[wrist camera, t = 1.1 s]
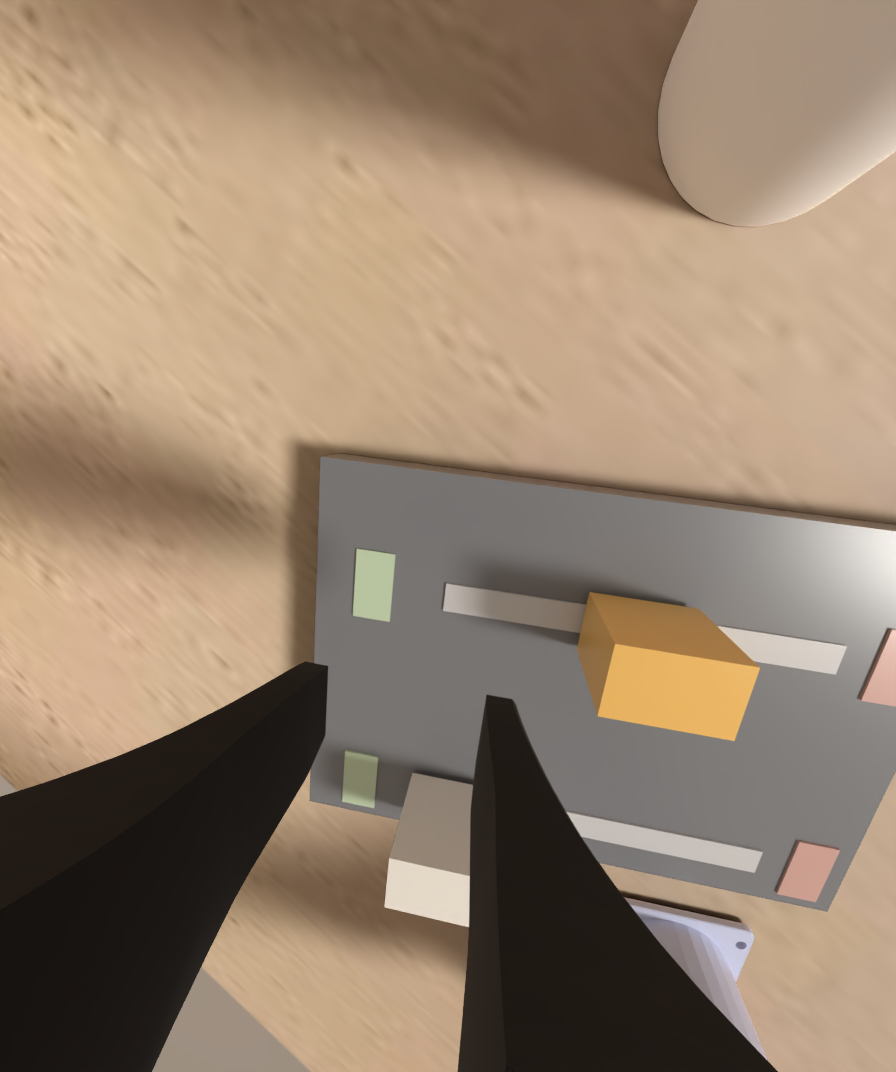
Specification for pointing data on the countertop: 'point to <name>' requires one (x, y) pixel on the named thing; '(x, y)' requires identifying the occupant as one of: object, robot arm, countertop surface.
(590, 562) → the gray slider board
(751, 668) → the orange rectangular block
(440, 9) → the countertop surface
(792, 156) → the cylindrical container
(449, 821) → the cream handle
